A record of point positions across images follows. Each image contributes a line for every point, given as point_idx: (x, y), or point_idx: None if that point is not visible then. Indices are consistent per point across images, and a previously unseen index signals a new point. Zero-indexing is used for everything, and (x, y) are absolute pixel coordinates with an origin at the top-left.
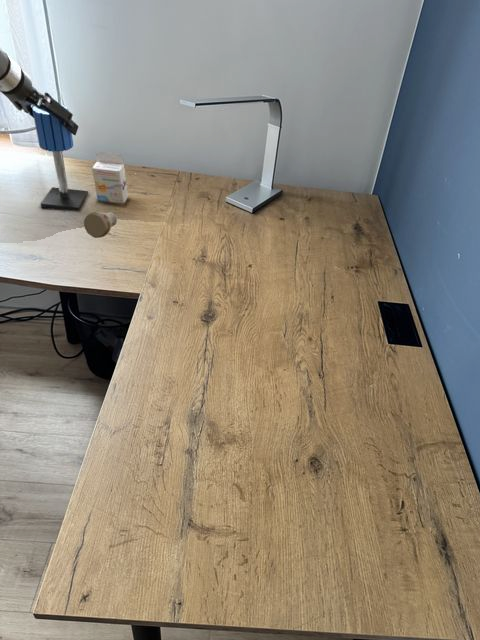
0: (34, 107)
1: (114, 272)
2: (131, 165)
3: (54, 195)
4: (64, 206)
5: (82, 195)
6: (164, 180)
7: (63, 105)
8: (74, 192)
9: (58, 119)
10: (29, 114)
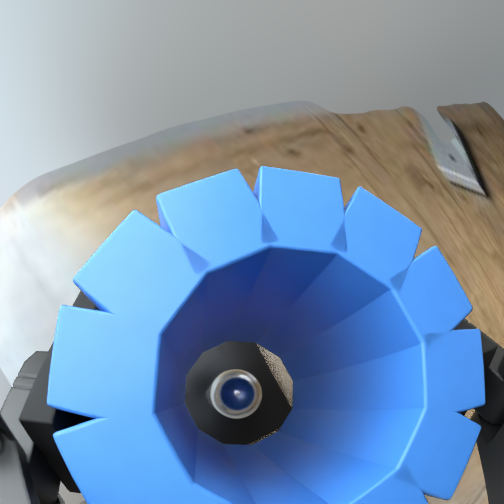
0: (108, 500)
1: (483, 498)
2: (217, 135)
3: (187, 407)
4: (260, 437)
5: (252, 354)
6: (326, 158)
7: (318, 179)
8: (220, 354)
9: (483, 453)
10: (69, 490)
